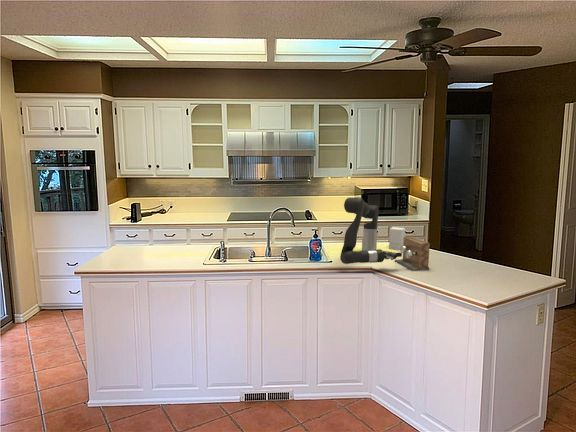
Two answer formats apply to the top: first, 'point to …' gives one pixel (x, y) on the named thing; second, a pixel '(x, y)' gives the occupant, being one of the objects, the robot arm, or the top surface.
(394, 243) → the supplement box
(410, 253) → the knob
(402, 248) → the knob
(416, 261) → the knob panel
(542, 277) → the top surface
